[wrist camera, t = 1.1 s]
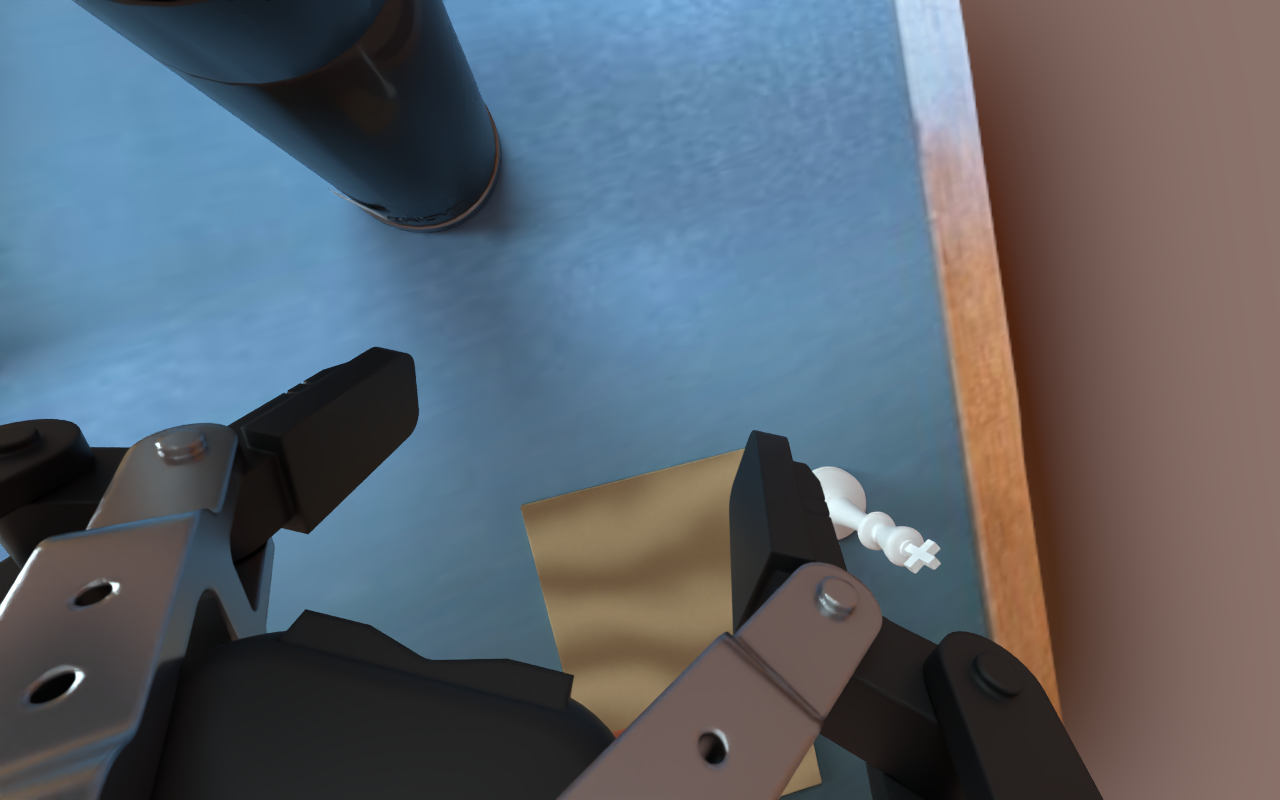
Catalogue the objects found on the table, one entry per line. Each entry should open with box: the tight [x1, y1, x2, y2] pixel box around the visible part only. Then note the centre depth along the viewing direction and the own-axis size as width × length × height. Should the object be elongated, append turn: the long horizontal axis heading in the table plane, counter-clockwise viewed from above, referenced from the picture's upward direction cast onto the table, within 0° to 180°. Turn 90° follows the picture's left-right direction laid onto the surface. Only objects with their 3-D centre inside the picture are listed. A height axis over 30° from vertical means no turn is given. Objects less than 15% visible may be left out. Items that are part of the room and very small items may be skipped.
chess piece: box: [812, 467, 941, 574], centre depth 26 cm, size 5×5×10 cm
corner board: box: [521, 448, 822, 796], centre depth 31 cm, size 24×15×1 cm, turn 13°
